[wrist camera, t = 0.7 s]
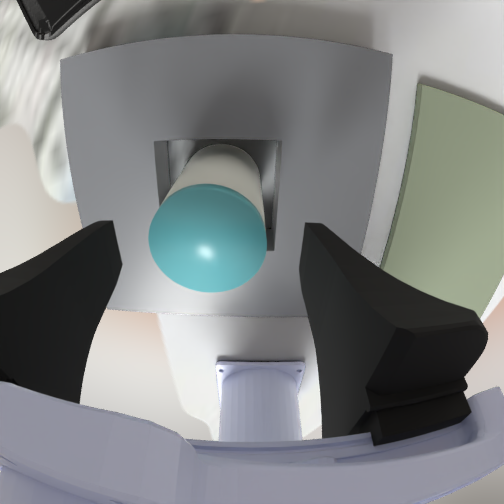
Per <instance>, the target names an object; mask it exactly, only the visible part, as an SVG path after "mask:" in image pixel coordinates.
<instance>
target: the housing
mask: <svg viewBox="0 0 504 504" xmlns="http://www.w3.org/2000/svg"><path fill="white" fill-rule="evenodd" d="M392 56H393V54H389V53H386V52H381V51H377V50H373V49H368V48H364V47H359V46H354V45H349V44H343V43H337V42H331V41H324V40H317V39H309V38H300V37H290V36H277V35H257V34H214V35H194V36H181V37H171V38H162V39H154V40H147V41H140V42H134V43H128V44H123V45H117V46H112V47H108V48H103V49H99V50H94V51H90V52H86V53H83V54H79V55H75V56H72V57H68V58H65V59H61V60H60V69H61V93H62V107H63V118H64V127H65V136H66V144H67V151H68V158H69V164H70V170H71V176H72V181H73V187H74V192H75V197H76V201H77V206H78V210H79V215H80V219H81V223H82V227H83V228H85V227H87V226H88V225H90V224H92V223H95V222H97V221H102V220H113V223H114V228H115V232H116V237H117V242H118V246H119V251H120V255H121V259H122V263H123V265H122V269H121V272H120V276H119V279H118V282H117V285H116V287H115V289H114V291H113V294H112V296H111V298H110V300H109V302H108V304H107V309H110V310H111V309H112V310H122V311H135V312H149V313H164V314H182V315H204V316H237V317H308V315H307V311H306V307H305V303H304V299H303V295H302V291H301V284H300V275H299V263H300V256H301V249H302V241H303V234H304V226H305V222H308V223H322V224H324V225H325V226H326V227H328V228H329V229H330V230H331V231H333V232H334V233H335V234H336V235H337V236H339V237H340V238H341V239H342V240H343V241H344V242H346V243H347V244H348V245H349V246H351V247H352V248H353V249H354V250H356V251H357V252H358V253H359V254H361V251H362V246H363V242H364V238H365V234H366V230H367V225H368V221H369V216H370V212H371V207H372V202H373V198H374V193H375V187H376V182H377V177H378V171H379V166H380V160H381V154H382V147H383V141H384V134H385V127H386V119H387V111H388V102H389V93H390V82H391V70H392ZM193 139H252V140H277V149H276V166H275V182H274V198H273V213H272V228H271V229H266V238H267V250H266V256H265V259H264V262H263V264H262V266H261V267H260V269H259V270H258V272H257V273H256V274H255V275H254V276H253V277H252V278H251V279H250V280H249V281H247V282H246V283H244V284H243V285H241V286H239V287H237V288H234V289H231V290H228V291H224V292H215V293H208V292H199V291H194V290H191V289H188V288H185V287H183V286H181V285H179V284H177V283H175V282H174V281H172V280H171V279H170V278H168V277H167V276H166V275H165V274H164V273H163V272H162V271H161V270H160V268H159V267H158V266H157V264H156V263H155V261H154V259H153V257H152V254H151V252H150V248H149V240H148V236H149V228H150V224H151V222H152V219H153V217H154V216H155V214H156V212H157V210H158V209H159V207H160V206H161V204H162V202H163V201H164V199H165V197H166V196H167V194H168V193H169V191H170V176H169V162H168V146H167V140H193Z"/></svg>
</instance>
